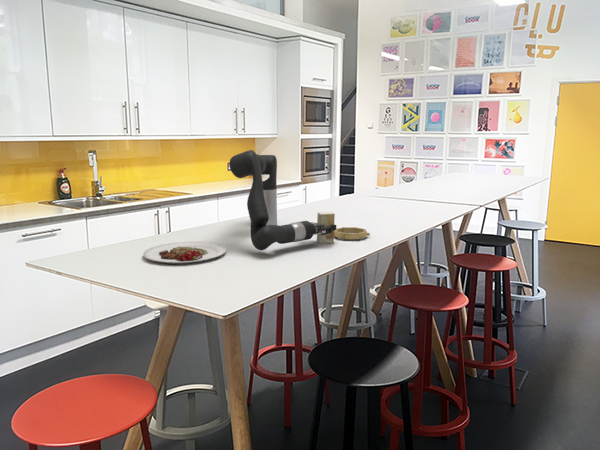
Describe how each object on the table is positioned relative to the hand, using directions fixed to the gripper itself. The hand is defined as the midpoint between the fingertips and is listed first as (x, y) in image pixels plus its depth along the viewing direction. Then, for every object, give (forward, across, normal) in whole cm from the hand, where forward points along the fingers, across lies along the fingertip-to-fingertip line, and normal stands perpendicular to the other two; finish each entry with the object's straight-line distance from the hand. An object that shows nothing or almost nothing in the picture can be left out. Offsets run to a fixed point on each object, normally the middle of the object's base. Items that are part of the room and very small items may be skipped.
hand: (330, 225), depth 207 cm
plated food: (-55, +20, +7) cm, 59 cm away
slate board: (+12, 0, +6) cm, 13 cm away
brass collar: (+12, 0, +6) cm, 13 cm away
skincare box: (-2, 0, +7) cm, 7 cm away
